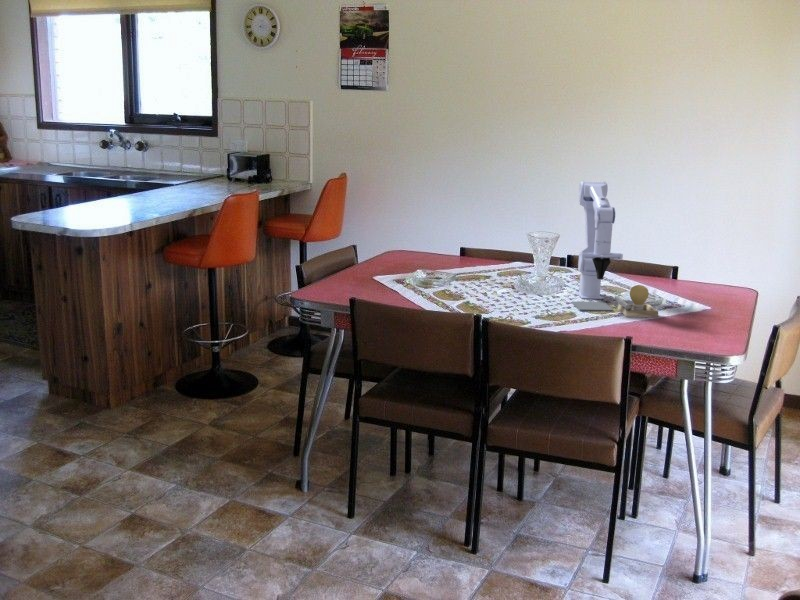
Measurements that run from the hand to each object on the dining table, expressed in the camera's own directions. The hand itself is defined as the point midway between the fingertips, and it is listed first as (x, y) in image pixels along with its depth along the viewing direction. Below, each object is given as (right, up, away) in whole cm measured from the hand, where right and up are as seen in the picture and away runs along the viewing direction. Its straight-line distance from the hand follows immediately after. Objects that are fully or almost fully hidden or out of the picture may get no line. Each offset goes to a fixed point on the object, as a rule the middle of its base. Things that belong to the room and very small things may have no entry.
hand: (599, 278), depth 302 cm
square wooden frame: (+12, -12, -5) cm, 18 cm away
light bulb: (+12, -12, -5) cm, 18 cm away
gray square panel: (-2, -10, +2) cm, 11 cm away
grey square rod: (+7, -9, -4) cm, 12 cm away
